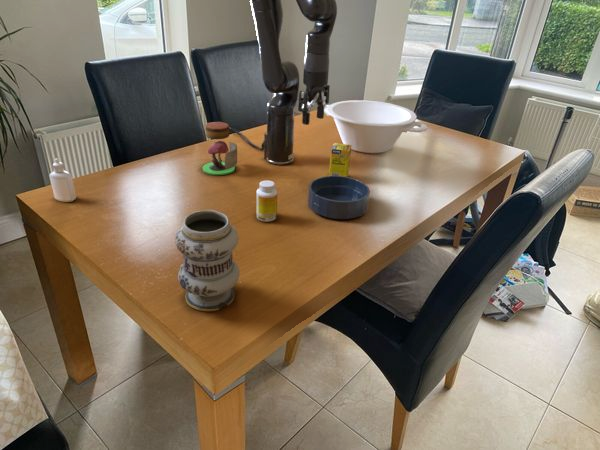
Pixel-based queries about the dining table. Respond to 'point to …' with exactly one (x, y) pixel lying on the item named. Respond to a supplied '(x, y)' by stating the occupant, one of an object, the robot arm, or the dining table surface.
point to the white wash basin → (372, 124)
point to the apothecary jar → (207, 260)
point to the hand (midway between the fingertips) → (313, 121)
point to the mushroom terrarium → (220, 150)
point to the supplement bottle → (266, 201)
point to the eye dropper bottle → (62, 183)
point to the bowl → (338, 197)
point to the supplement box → (340, 160)
